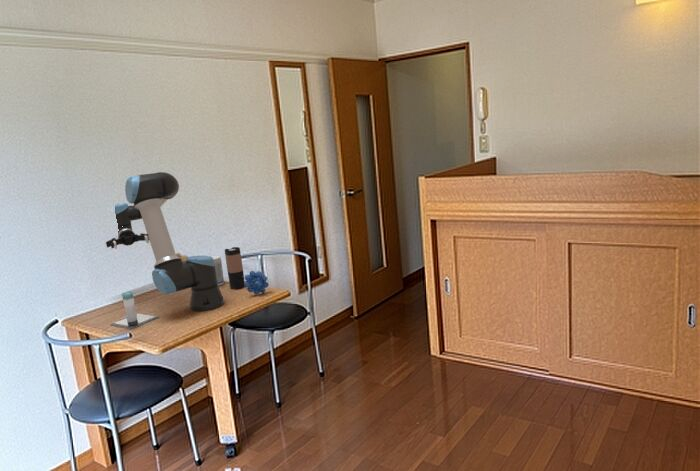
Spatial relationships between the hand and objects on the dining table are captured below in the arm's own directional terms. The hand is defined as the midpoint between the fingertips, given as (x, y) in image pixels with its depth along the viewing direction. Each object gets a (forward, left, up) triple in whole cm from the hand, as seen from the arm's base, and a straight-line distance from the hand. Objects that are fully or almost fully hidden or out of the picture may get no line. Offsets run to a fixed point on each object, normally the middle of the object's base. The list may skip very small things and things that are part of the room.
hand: (131, 242), depth 237 cm
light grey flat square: (-10, +12, -32) cm, 35 cm away
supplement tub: (-5, -40, -32) cm, 51 cm away
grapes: (-41, -33, -32) cm, 62 cm away
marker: (-15, +17, -31) cm, 38 cm away
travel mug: (-21, -40, -32) cm, 55 cm away
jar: (+12, -34, -32) cm, 48 cm away
